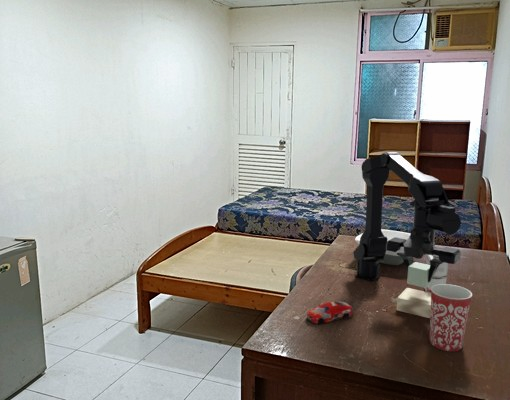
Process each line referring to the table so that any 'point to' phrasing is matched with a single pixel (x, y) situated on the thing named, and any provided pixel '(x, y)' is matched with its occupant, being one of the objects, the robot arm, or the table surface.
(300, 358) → the table surface
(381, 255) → the robot arm
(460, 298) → the mug
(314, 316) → the race car
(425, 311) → the slab
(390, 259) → the bowl
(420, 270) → the cube
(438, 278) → the ink box
